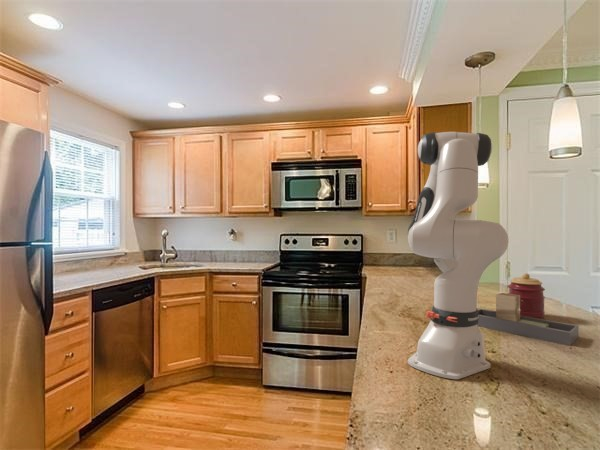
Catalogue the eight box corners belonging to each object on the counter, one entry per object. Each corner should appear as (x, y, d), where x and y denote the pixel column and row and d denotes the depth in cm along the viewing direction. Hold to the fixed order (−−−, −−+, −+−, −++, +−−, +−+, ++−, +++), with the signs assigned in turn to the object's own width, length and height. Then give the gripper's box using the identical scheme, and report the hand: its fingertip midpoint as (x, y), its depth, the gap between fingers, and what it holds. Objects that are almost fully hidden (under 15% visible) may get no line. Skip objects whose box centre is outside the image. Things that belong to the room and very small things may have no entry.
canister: (533, 312, 151) (533, 271, 151) (552, 320, 138) (552, 275, 138) (501, 311, 152) (502, 270, 152) (517, 319, 139) (517, 275, 139)
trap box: (570, 345, 110) (570, 332, 110) (467, 323, 133) (467, 313, 133) (578, 337, 118) (578, 325, 118) (479, 318, 141) (480, 308, 141)
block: (514, 323, 124) (514, 297, 124) (495, 319, 128) (496, 294, 128) (519, 319, 128) (520, 295, 128) (501, 316, 132) (502, 292, 132)
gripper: (436, 248, 138) (461, 275, 130) (459, 245, 151) (482, 270, 144) (425, 258, 141) (449, 286, 134) (448, 255, 155) (471, 280, 147)
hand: (466, 278), depth 139 cm, fingers closed
